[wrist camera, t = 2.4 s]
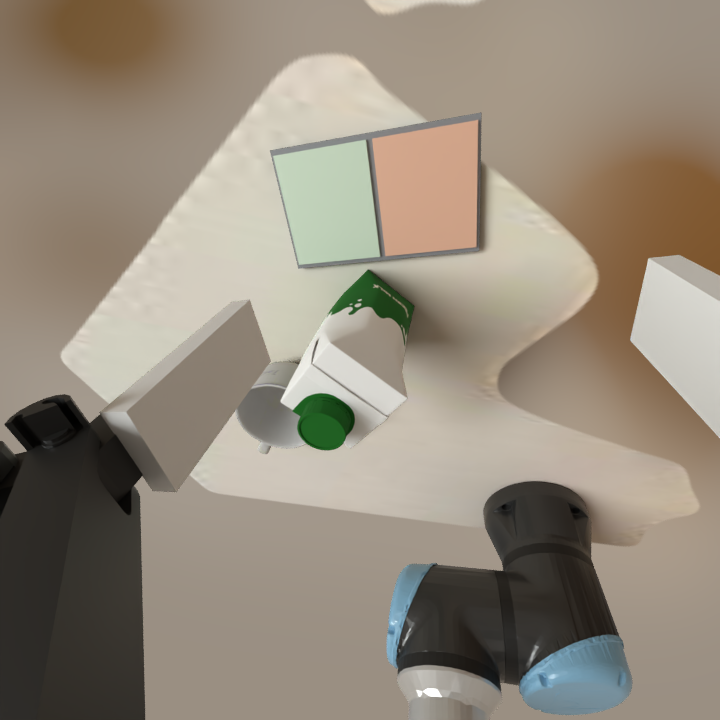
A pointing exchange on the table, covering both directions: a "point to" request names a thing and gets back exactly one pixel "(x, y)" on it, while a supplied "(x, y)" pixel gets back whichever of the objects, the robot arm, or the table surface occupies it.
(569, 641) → the robot arm
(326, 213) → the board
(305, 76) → the table surface
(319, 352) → the soya milk
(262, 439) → the teacup
